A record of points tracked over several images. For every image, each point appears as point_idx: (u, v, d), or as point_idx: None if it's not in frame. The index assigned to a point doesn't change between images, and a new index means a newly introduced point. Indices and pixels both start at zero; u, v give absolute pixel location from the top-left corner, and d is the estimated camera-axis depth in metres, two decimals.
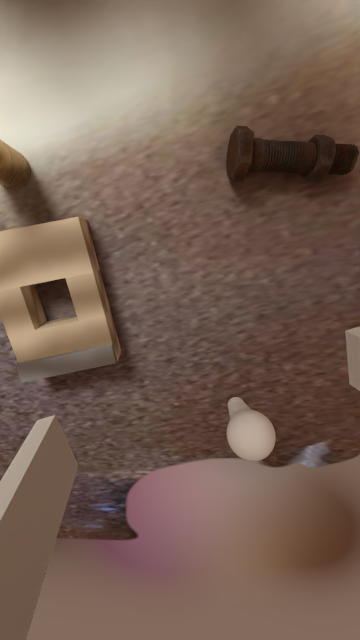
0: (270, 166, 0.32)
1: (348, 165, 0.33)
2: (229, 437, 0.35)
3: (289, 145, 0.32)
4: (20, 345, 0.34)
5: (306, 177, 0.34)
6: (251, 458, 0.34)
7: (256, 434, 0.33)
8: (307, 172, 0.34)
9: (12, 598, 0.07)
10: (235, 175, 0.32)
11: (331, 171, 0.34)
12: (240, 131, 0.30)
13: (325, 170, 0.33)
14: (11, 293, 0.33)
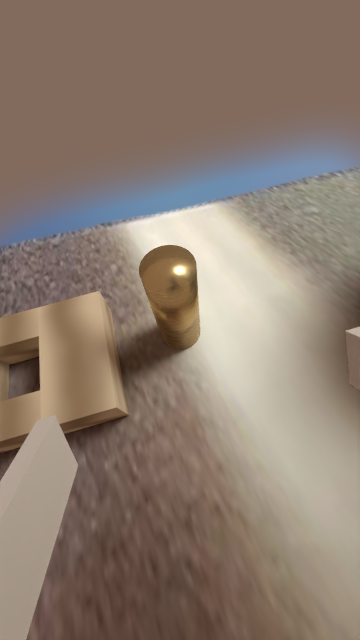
0: None
1: None
2: None
3: None
4: None
5: None
6: None
7: None
8: None
9: (12, 598, 0.07)
10: None
11: None
12: None
13: None
14: (32, 327, 0.27)
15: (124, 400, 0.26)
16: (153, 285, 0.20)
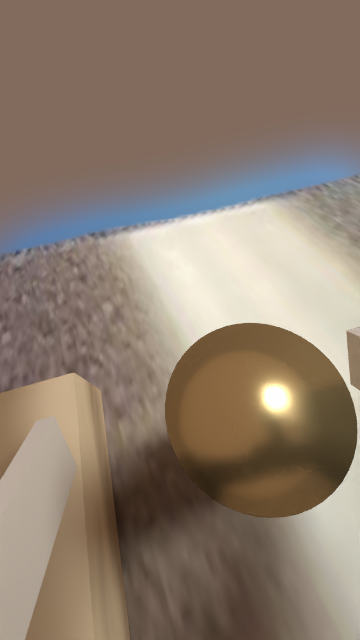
0: None
1: None
2: None
3: None
4: None
5: None
6: None
7: None
8: None
9: (10, 600, 0.07)
10: None
11: None
12: None
13: None
14: None
15: (122, 619, 0.12)
16: (216, 485, 0.06)
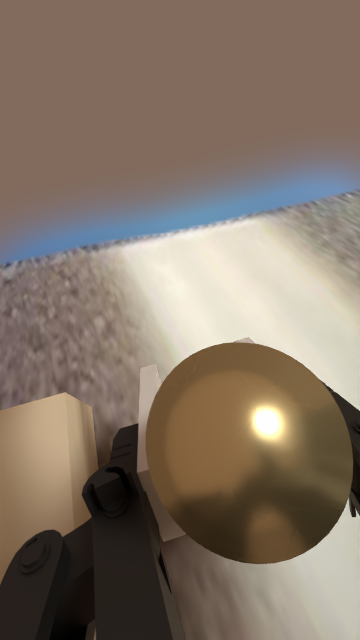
0: None
1: None
2: None
3: None
4: None
5: None
6: None
7: None
8: None
9: None
10: None
11: None
12: None
13: None
14: None
15: None
16: (199, 526, 0.05)
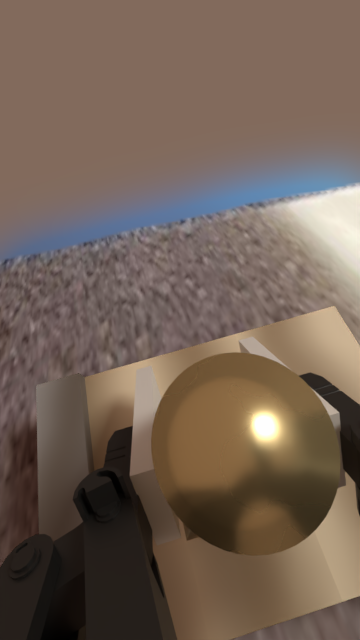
0: None
1: None
2: None
3: None
4: (124, 383, 0.16)
5: None
6: None
7: None
8: None
9: None
10: None
11: None
12: None
13: None
14: None
15: None
16: (200, 521, 0.06)
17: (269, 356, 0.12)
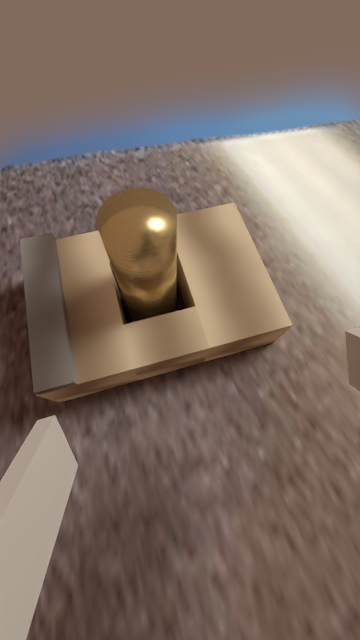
0: None
1: None
2: None
3: None
4: (84, 243, 0.22)
5: None
6: None
7: None
8: None
9: (12, 598, 0.07)
10: None
11: None
12: None
13: None
14: None
15: None
16: (116, 242, 0.14)
17: None
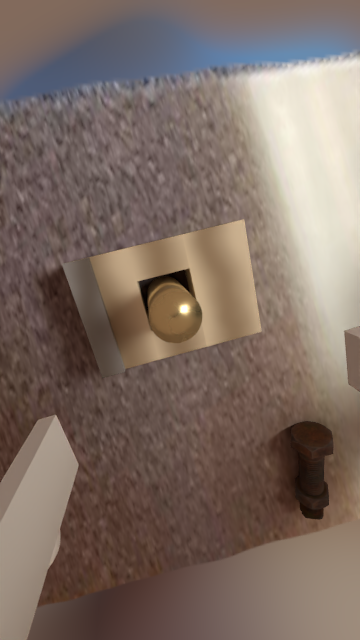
0: (305, 465, 0.38)
1: (310, 516, 0.41)
2: None
3: (322, 475, 0.38)
4: (114, 262, 0.27)
5: (297, 488, 0.41)
6: None
7: None
8: (301, 488, 0.40)
9: (14, 597, 0.07)
10: (297, 444, 0.37)
11: (304, 504, 0.41)
12: (332, 443, 0.36)
13: (306, 504, 0.40)
14: (181, 258, 0.27)
15: None
16: (163, 337, 0.22)
17: None
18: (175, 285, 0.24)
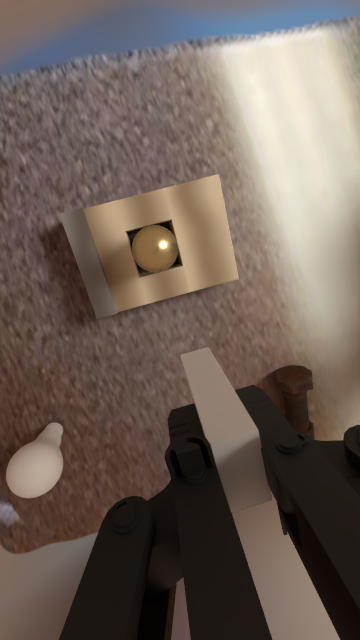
0: (290, 404, 0.42)
1: None
2: (31, 451, 0.32)
3: (305, 412, 0.42)
4: (105, 213, 0.31)
5: None
6: (13, 483, 0.31)
7: (45, 480, 0.31)
8: None
9: None
10: (280, 382, 0.40)
11: None
12: (311, 379, 0.39)
13: None
14: (164, 209, 0.31)
15: None
16: (145, 267, 0.26)
17: (216, 368, 0.12)
18: None
